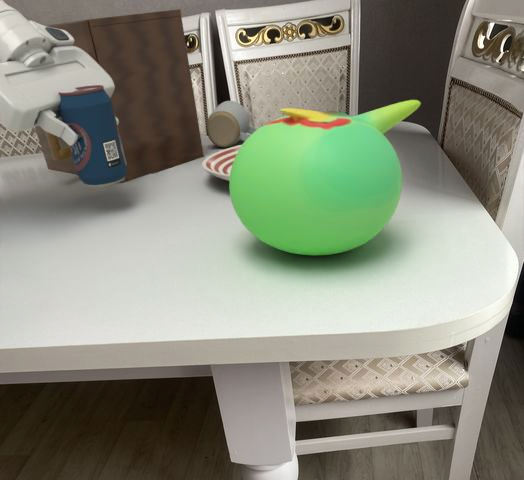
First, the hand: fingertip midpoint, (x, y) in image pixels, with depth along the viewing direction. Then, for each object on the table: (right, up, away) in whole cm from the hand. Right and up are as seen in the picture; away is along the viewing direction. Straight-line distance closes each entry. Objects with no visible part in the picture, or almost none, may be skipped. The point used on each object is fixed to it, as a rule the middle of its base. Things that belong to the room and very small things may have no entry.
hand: (96, 133), depth 71 cm
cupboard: (-4, +8, +33) cm, 34 cm away
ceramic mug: (+17, +13, +36) cm, 42 cm away
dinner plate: (+27, -1, +14) cm, 30 cm away
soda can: (0, -5, +4) cm, 7 cm away
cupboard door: (-13, +2, +25) cm, 28 cm away
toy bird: (+29, -18, -13) cm, 36 cm away
